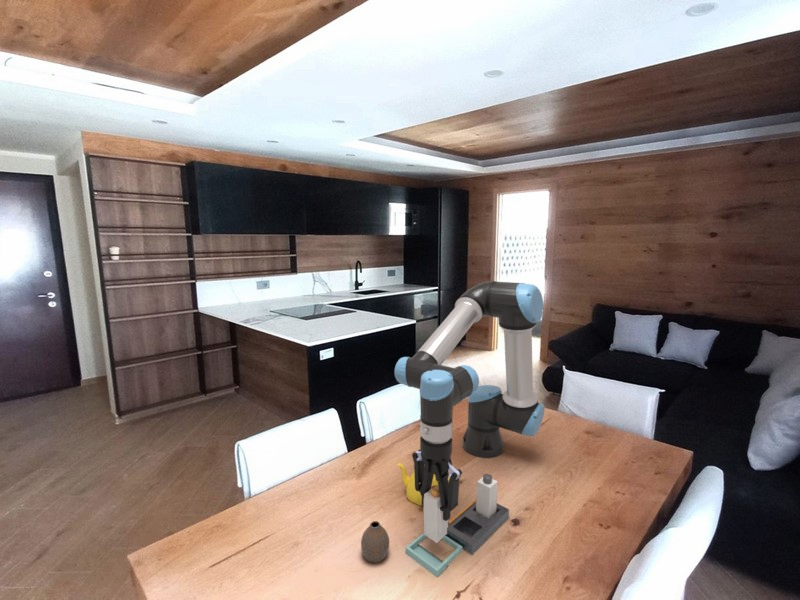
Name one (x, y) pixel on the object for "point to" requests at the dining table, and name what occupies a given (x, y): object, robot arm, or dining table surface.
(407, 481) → the teapot
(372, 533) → the vase
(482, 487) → the twin plug
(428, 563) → the tray
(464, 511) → the grey socket base
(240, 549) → the dining table surface
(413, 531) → the dining table surface
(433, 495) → the plug
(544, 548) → the dining table surface
